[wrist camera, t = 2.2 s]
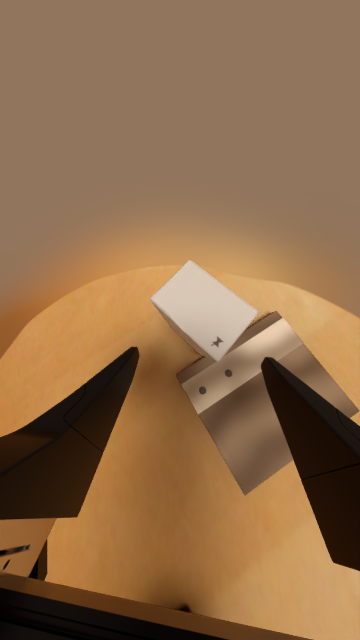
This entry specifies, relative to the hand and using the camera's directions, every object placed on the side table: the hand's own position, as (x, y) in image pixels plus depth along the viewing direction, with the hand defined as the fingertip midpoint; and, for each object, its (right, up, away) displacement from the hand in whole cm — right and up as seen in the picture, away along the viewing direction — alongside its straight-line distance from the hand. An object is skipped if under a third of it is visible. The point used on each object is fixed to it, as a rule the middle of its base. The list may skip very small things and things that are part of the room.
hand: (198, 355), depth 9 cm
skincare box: (+1, +1, +11) cm, 11 cm away
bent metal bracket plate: (+9, -7, +8) cm, 14 cm away
